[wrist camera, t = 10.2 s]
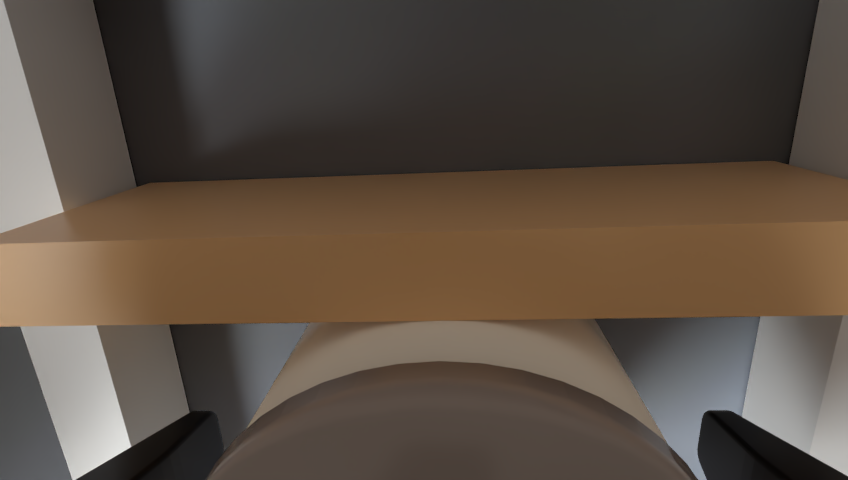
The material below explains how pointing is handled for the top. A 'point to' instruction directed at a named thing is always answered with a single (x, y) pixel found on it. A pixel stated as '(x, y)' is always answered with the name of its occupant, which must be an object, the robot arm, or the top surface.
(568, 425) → the jar
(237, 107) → the top surface
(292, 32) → the top surface
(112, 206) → the bar
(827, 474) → the robot arm
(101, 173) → the lane
